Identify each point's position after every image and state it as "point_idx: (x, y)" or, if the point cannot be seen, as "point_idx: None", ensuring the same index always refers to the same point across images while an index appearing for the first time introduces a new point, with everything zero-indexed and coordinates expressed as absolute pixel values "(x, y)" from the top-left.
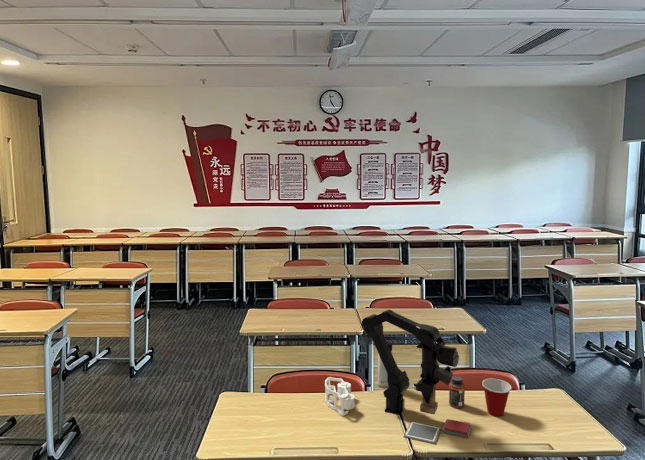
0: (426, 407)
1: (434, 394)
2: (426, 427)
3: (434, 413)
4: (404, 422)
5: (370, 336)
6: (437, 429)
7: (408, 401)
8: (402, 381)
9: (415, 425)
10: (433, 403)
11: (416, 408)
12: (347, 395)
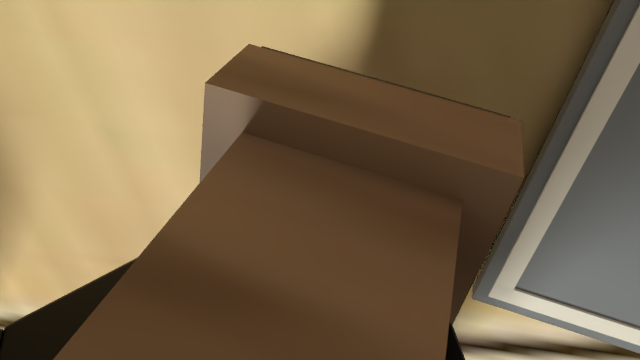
0: (463, 297)
1: (265, 346)
2: (624, 165)
3: (520, 128)
4: (470, 337)
5: None
6: None
7: (50, 244)
8: None
9: (568, 275)
10: (435, 241)
11: (148, 197)
12: None
